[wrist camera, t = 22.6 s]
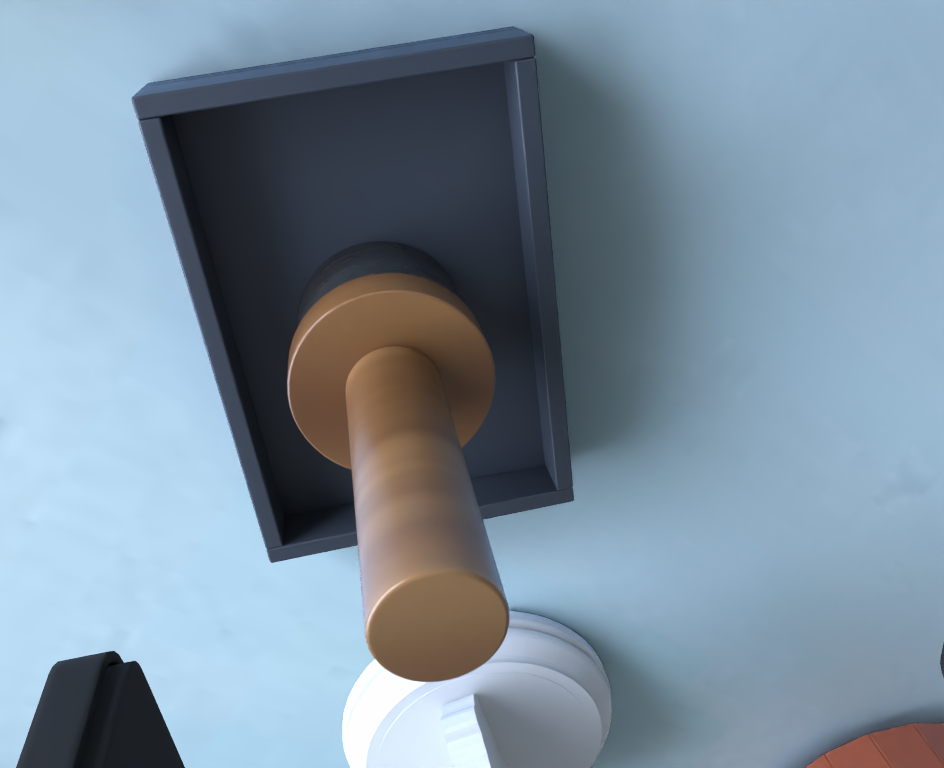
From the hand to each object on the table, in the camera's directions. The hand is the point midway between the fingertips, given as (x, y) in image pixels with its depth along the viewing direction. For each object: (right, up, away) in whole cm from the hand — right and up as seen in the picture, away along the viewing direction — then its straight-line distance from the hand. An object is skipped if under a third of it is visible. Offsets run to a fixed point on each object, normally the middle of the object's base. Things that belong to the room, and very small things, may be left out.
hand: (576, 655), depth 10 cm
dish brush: (-4, +5, +14) cm, 15 cm away
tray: (-4, +5, +14) cm, 16 cm away
